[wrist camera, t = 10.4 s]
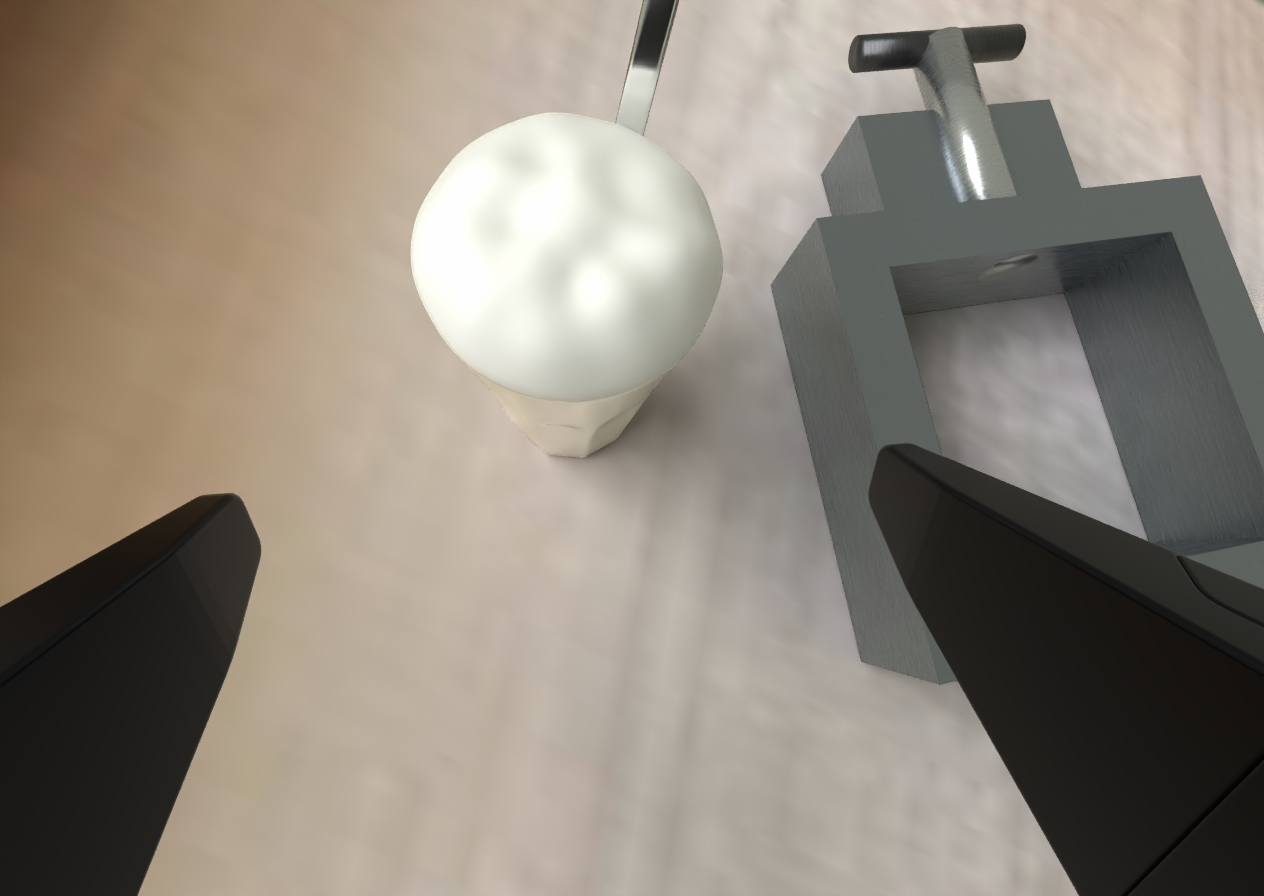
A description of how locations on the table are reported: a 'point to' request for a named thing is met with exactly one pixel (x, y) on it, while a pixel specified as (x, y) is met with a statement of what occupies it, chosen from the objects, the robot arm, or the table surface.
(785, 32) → the table surface
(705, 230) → the milkshake
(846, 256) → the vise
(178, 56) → the table surface
